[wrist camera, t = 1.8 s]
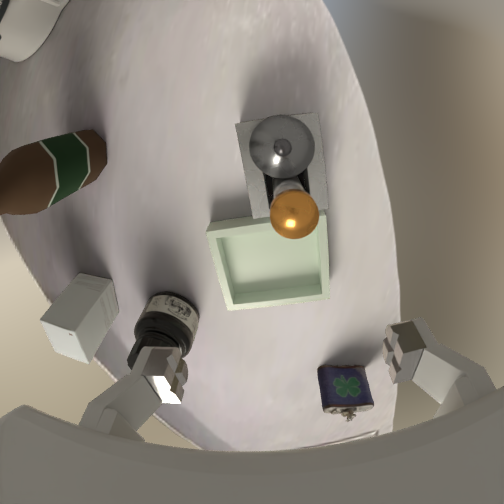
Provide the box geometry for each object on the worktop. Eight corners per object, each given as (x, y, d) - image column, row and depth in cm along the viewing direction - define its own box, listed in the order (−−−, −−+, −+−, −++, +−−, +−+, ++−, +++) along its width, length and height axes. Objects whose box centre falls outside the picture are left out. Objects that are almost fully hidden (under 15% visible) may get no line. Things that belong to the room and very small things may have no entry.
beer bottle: (97, 116, 28) (-64, 162, 7) (118, 167, 31) (-30, 259, 10) (60, 144, 30) (-77, 206, 8) (80, 190, 33) (-47, 282, 12)
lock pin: (266, 166, 31) (266, 196, 20) (298, 161, 30) (317, 190, 20) (271, 196, 33) (273, 242, 22) (302, 192, 32) (321, 235, 21)
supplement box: (78, 271, 40) (37, 318, 29) (113, 278, 40) (75, 332, 29) (87, 304, 43) (53, 352, 32) (120, 313, 43) (90, 366, 32)
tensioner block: (239, 120, 28) (231, 122, 22) (309, 111, 27) (322, 110, 21) (255, 203, 33) (252, 228, 27) (320, 195, 32) (333, 217, 26)
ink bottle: (212, 314, 42) (198, 375, 31) (184, 340, 45) (167, 396, 35) (161, 278, 39) (130, 335, 29) (137, 309, 43) (109, 362, 32)
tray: (210, 222, 35) (205, 232, 32) (321, 206, 33) (326, 215, 30) (230, 297, 40) (227, 310, 37) (325, 286, 38) (329, 298, 36)
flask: (366, 364, 47) (378, 413, 37) (360, 374, 49) (371, 421, 38) (319, 364, 47) (326, 416, 37) (314, 373, 48) (320, 424, 38)
